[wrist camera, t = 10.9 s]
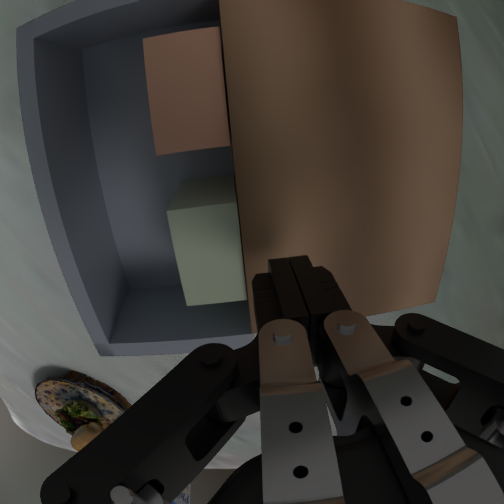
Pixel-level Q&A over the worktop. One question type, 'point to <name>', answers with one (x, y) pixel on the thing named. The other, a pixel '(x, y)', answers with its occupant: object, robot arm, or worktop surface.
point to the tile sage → (207, 240)
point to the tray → (116, 174)
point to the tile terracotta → (186, 90)
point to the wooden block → (345, 141)
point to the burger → (80, 405)
